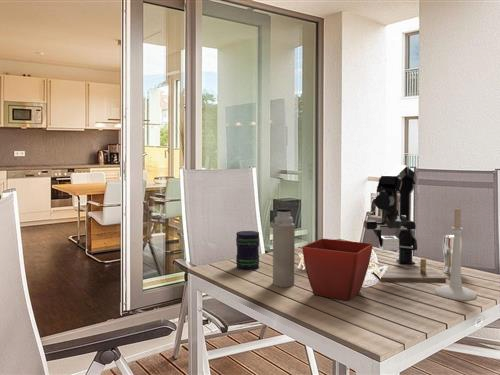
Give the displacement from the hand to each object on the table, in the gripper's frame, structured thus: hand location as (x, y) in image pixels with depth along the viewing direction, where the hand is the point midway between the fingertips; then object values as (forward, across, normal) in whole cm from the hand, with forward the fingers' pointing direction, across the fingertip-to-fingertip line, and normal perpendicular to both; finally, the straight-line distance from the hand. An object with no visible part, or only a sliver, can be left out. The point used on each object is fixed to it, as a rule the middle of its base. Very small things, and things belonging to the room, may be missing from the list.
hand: (388, 246), depth 172 cm
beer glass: (+12, +27, +7) cm, 31 cm away
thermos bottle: (+12, -42, -11) cm, 45 cm away
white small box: (+1, 0, 0) cm, 1 cm away
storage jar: (+12, -56, +13) cm, 58 cm away
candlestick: (+12, +16, -22) cm, 30 cm away
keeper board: (+12, +7, 0) cm, 14 cm away
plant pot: (+12, -24, -22) cm, 35 cm away
